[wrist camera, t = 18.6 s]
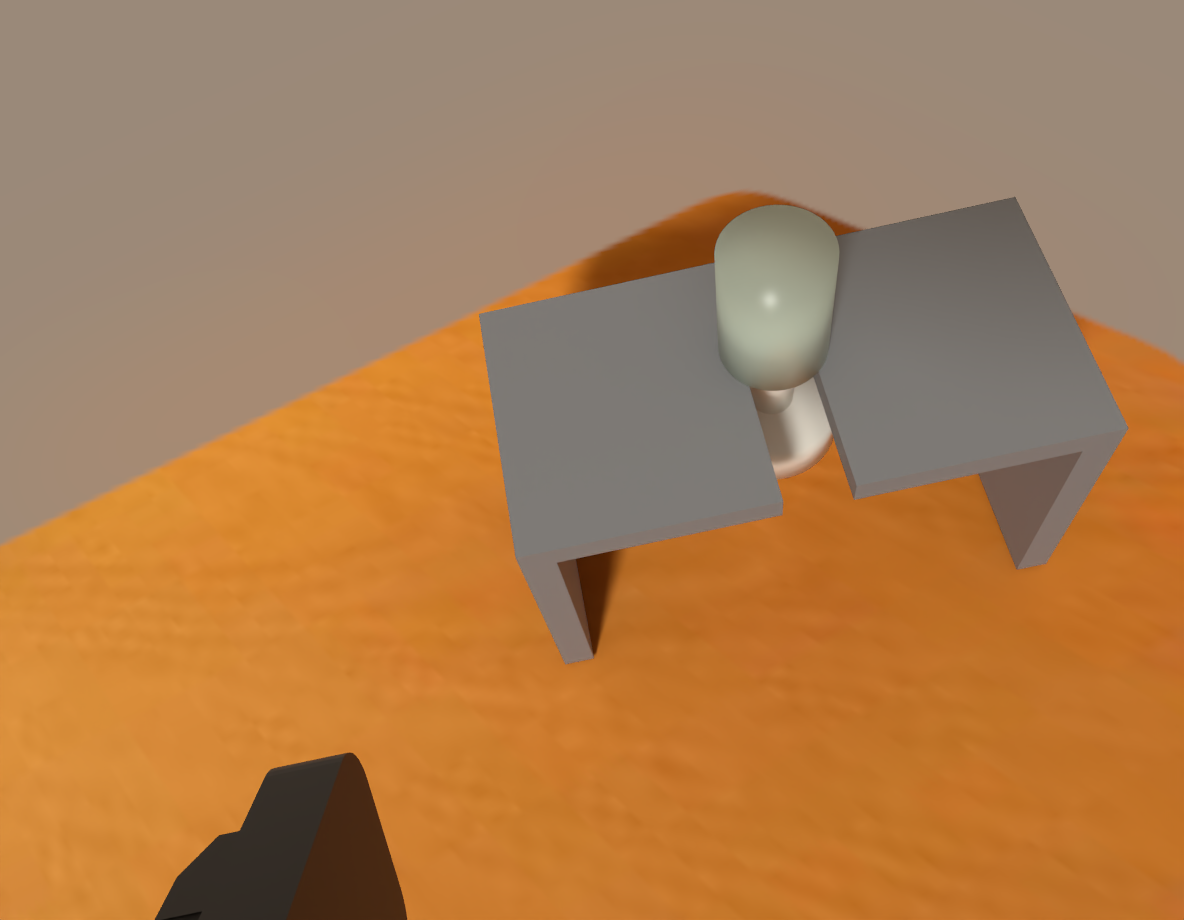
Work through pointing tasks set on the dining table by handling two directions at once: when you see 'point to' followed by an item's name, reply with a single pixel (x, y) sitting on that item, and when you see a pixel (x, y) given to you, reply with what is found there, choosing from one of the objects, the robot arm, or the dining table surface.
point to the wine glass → (779, 324)
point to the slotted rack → (845, 384)
